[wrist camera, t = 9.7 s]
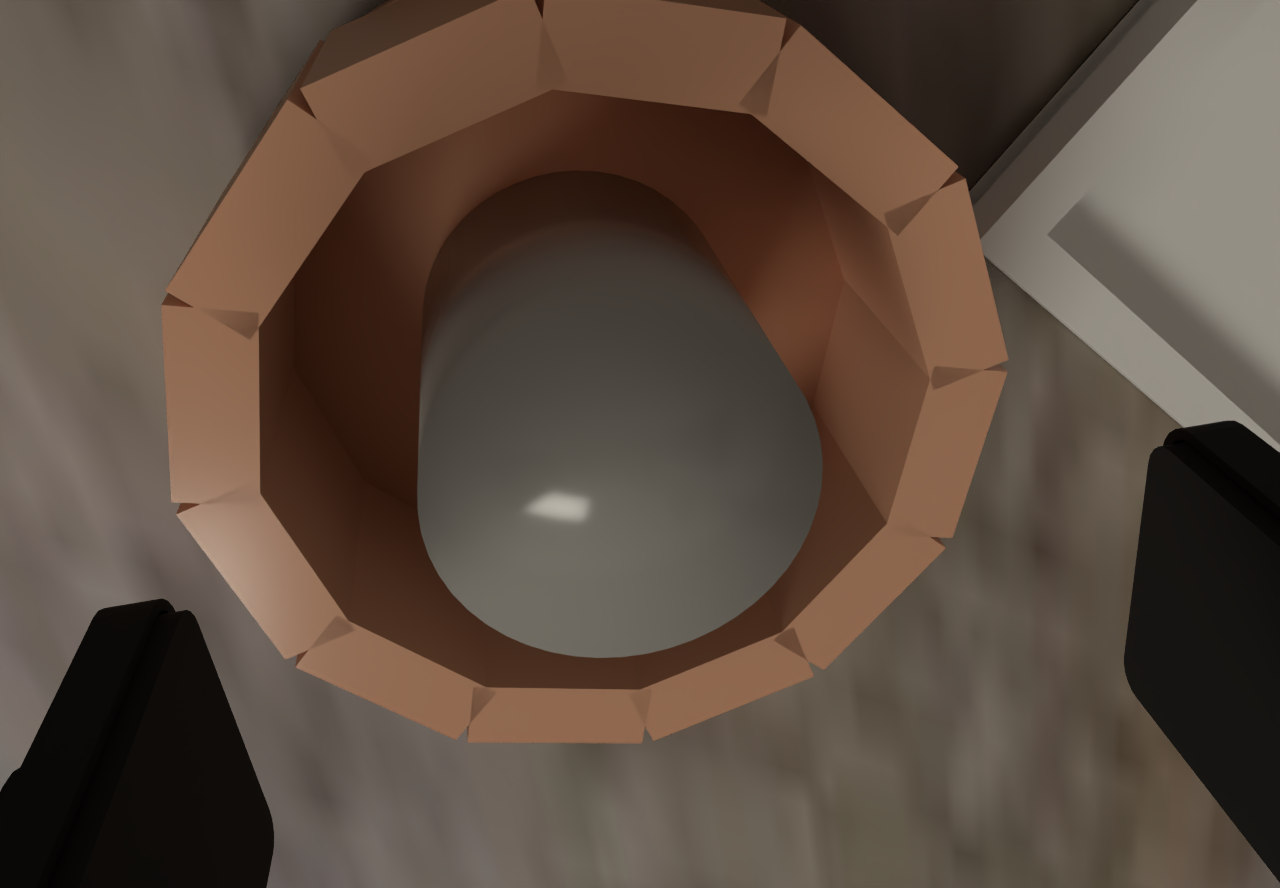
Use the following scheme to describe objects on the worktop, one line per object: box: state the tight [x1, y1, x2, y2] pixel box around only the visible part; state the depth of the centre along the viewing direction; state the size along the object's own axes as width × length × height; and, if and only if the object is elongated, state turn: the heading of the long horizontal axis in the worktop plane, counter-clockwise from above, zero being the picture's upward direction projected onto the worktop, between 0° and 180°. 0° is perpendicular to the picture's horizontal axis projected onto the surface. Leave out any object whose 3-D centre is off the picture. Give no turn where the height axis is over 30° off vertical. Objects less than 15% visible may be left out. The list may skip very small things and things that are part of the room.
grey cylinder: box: [417, 170, 823, 658], centre depth 15 cm, size 4×4×5 cm
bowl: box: [161, 0, 1008, 743], centre depth 16 cm, size 10×10×4 cm
